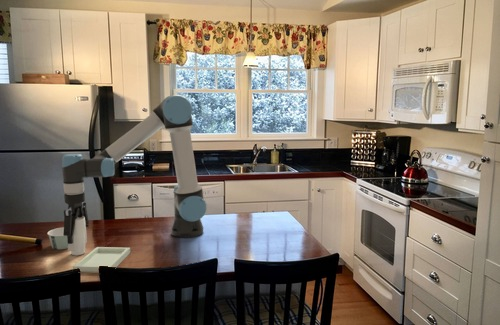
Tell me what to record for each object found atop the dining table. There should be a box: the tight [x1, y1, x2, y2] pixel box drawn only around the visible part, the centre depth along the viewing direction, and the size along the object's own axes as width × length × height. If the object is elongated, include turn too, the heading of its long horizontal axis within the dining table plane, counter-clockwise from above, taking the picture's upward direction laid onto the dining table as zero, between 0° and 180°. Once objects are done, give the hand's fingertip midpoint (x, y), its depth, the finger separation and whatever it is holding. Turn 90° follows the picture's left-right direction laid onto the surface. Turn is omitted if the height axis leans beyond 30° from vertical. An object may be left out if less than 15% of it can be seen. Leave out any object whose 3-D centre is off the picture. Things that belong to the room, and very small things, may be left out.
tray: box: [72, 246, 131, 274], centre depth 154 cm, size 14×20×2 cm
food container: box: [47, 226, 68, 250], centre depth 172 cm, size 12×12×6 cm
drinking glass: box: [70, 216, 87, 256], centre depth 162 cm, size 7×7×15 cm
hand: (77, 246), depth 163 cm, fingers open, 9 cm apart
